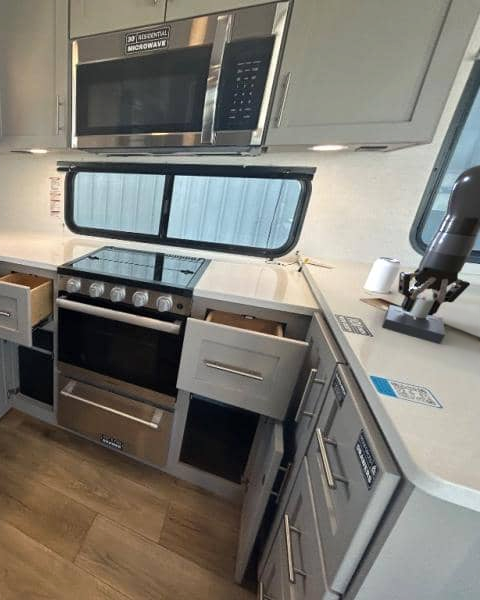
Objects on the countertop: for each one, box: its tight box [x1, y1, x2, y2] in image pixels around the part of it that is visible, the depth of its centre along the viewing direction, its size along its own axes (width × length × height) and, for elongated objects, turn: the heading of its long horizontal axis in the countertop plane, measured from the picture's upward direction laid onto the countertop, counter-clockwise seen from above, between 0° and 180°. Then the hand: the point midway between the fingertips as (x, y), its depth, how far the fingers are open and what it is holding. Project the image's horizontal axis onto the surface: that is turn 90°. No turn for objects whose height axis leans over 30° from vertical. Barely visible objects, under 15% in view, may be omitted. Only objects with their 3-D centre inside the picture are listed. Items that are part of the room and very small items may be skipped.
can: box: [364, 256, 402, 296], centre depth 109 cm, size 6×6×12 cm
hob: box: [381, 305, 446, 345], centre depth 88 cm, size 15×11×3 cm
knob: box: [405, 294, 435, 318], centre depth 88 cm, size 4×4×5 cm
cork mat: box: [359, 297, 401, 312], centre depth 101 cm, size 12×12×1 cm
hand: (416, 312), depth 89 cm, fingers closed on knob, 4 cm apart
